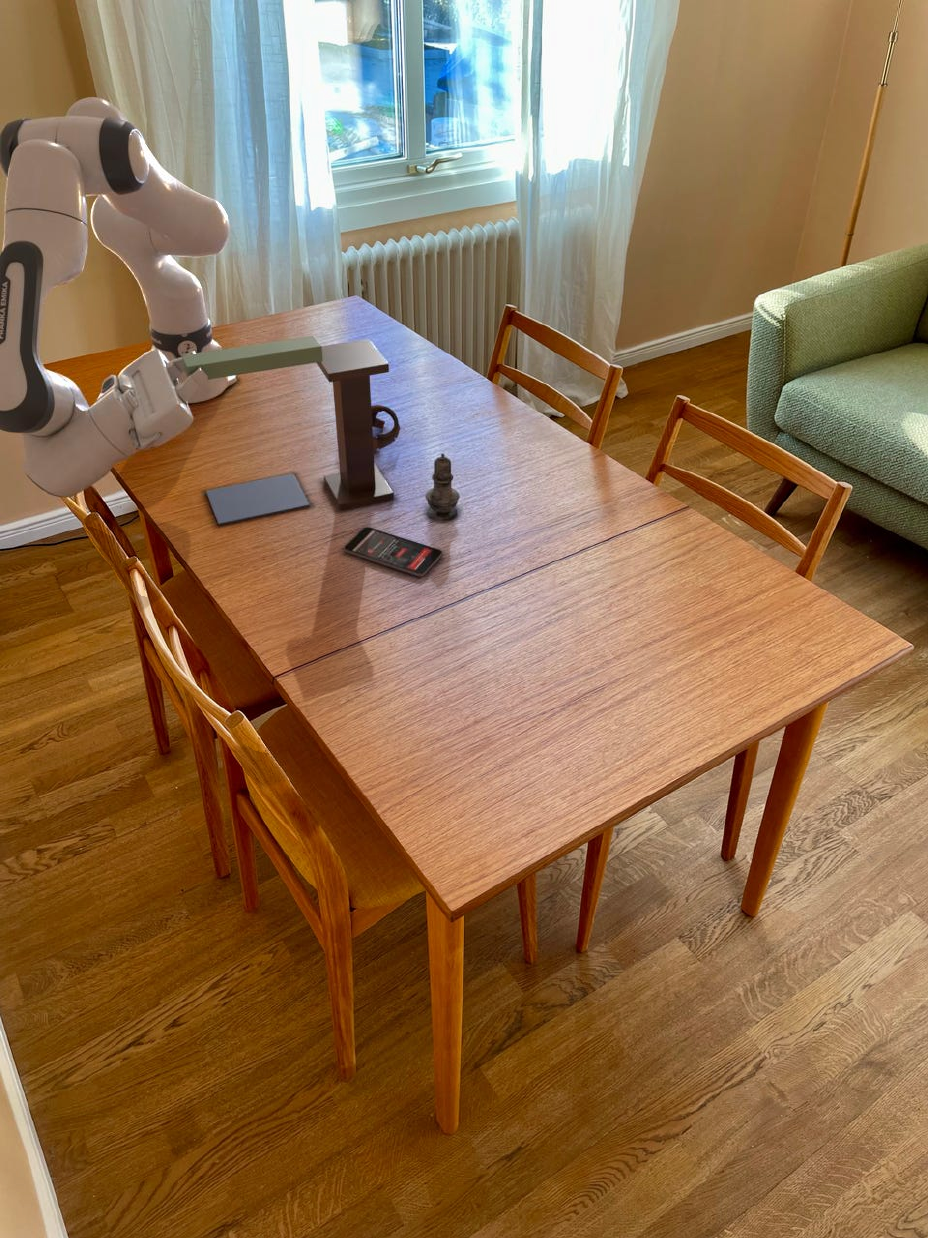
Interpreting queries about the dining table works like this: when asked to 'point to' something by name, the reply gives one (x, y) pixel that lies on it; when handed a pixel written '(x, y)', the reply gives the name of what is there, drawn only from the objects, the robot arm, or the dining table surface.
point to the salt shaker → (442, 492)
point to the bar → (255, 357)
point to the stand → (354, 423)
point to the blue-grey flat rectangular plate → (256, 499)
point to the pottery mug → (386, 438)
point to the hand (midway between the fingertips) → (200, 363)
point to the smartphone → (393, 551)
